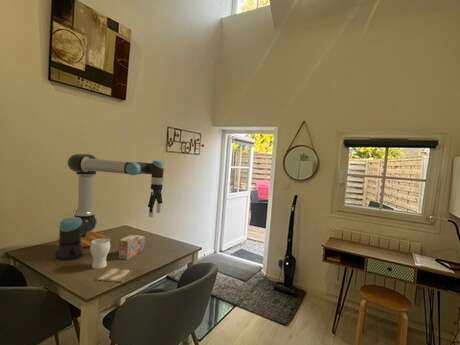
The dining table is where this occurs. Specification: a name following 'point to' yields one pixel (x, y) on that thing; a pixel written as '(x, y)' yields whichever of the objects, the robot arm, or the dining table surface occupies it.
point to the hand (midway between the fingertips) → (154, 214)
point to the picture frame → (114, 275)
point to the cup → (99, 252)
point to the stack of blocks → (131, 246)
